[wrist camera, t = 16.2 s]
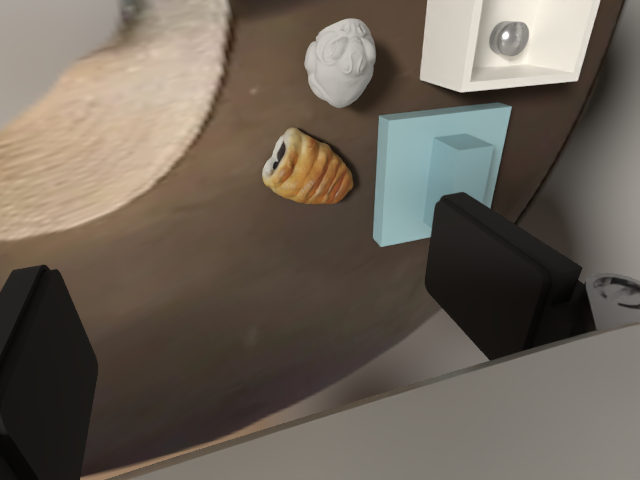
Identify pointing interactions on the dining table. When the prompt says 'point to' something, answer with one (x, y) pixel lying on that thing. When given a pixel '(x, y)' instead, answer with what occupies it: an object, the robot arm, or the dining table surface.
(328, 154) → the pastry
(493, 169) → the lid
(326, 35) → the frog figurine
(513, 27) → the glossy grey ball
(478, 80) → the tub
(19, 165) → the dining table surface
